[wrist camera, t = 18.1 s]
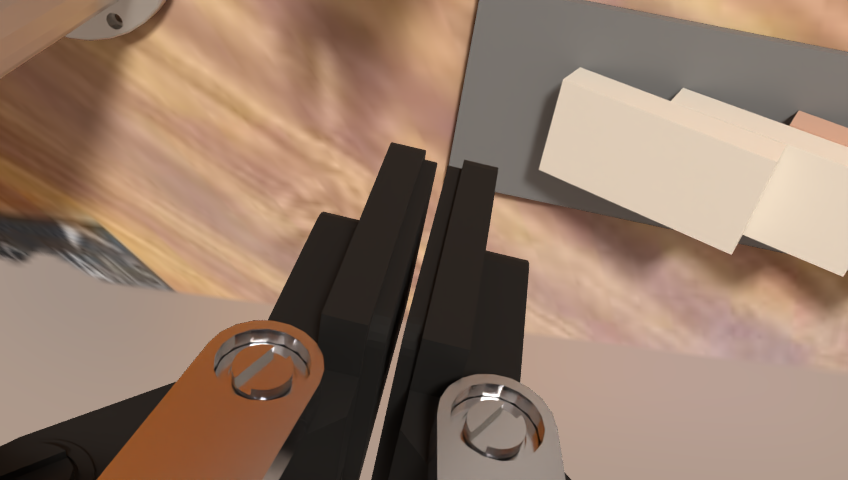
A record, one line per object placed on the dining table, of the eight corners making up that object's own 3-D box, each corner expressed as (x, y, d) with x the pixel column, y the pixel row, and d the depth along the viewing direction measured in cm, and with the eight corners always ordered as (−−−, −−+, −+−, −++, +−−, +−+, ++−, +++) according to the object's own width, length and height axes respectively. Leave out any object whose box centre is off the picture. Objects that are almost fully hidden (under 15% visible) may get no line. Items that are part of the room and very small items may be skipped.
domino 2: (637, 190, 38) (842, 276, 34) (670, 101, 35) (899, 185, 31) (650, 174, 39) (848, 256, 36) (683, 87, 36) (903, 167, 33)
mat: (447, 176, 42) (445, 181, 42) (483, -20, 36) (482, -16, 35) (917, 275, 41) (921, 282, 40) (1046, 90, 34) (1052, 96, 34)
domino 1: (538, 169, 38) (731, 254, 35) (563, 79, 35) (777, 162, 32) (555, 155, 40) (742, 235, 36) (580, 67, 37) (787, 145, 33)
